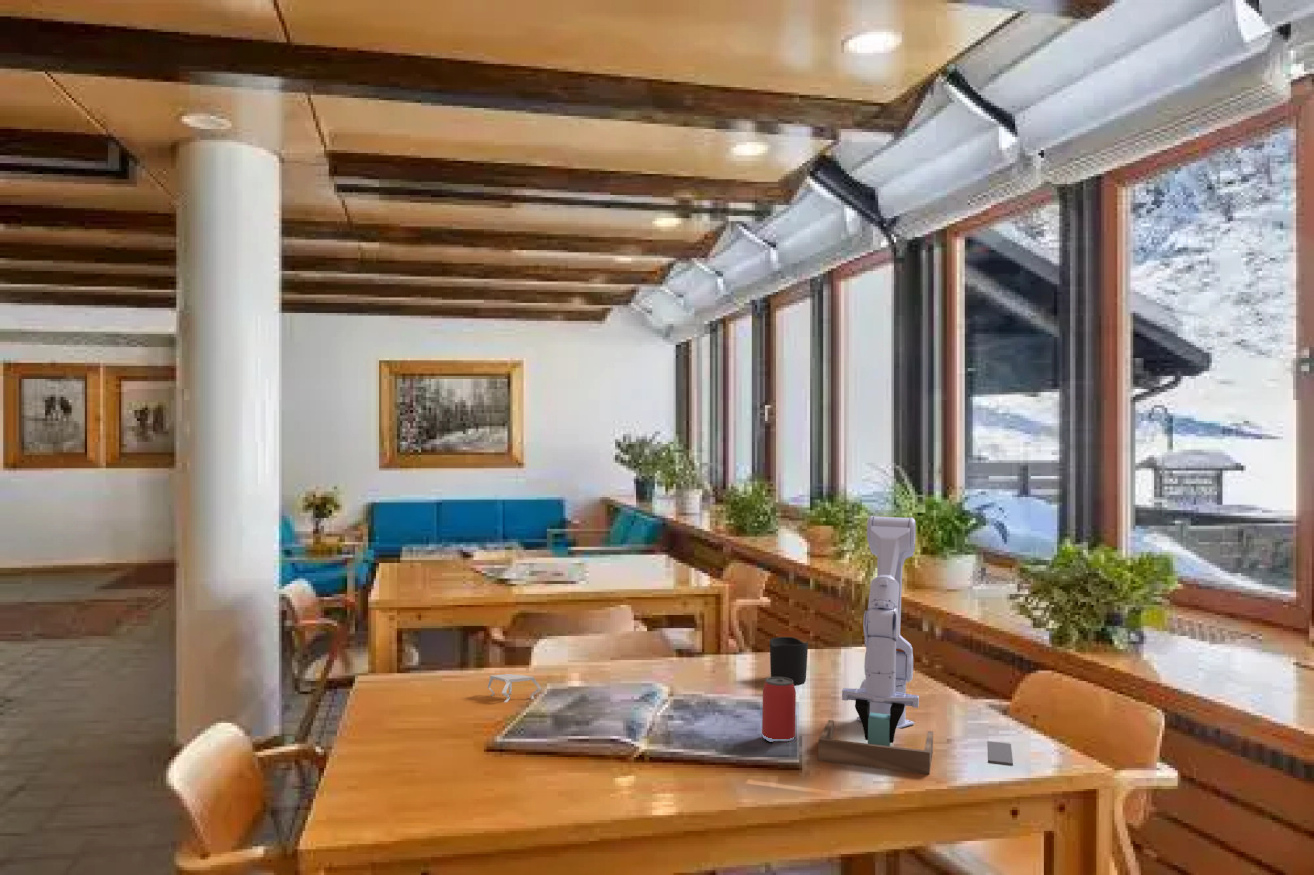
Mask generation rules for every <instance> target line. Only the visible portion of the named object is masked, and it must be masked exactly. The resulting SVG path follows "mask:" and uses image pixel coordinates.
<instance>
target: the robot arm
mask: <svg viewBox="0 0 1314 875" xmlns="http://www.w3.org/2000/svg"><path fill="white" fill-rule="evenodd" d="M916 524H917V523H916V520H915V519H914V517H897V516H895V517H893V516H874V515H870V516H869V517H868V519H867V526H866V539H867V543H868V548H869V550H870V553H871V554H872V555H873V556H876V557H877V564H876V567H877V571H876V572H877V575H876V577H875V578H873V579H872V580H871V582H870V587H869V589H870V590H869V594H868V595H869V596H868V605H867V610H864V614H863V623H862V624H863V625H862V627H863V630H862V631H863V636H864V647H865V653H864V654H865V655H864V665H863V666H864V667H863V668H864V675H865V679H863V681H861V684H860V687H859V688H851V687H850V688H847V687H846V688H845V687H844V688H842V690H841V700H842V701H855V702H854V703H855V704H854V707H855V710H856V713H857V714H858V716H857V717H856V720H857V721H859V722H861V725H862V729H863V733H864V740H865V741H868V717H869V715H870V712H871V713H880V714H890V743H891V744H893V743H894V741H895V734H896V730H897V729H902V728H906V727H909V726H913V725H915V721H912V720H910V719H906V718H907V716H906V715H907V714H906V708H907V707H912V708H916V709H919V707H920V706H919V705H920V696H919V694H918V695H917V694H911V693H907V683H910V682H911V681H913V676H914V654H913V653H914V650H913V649H914V648H913V647H912V644H911V643H910V642H909V641H908V640H907V639H906V638H904V637H903V636H902V635H901V620H902V618H901V616H902V614H901V613H902V591H903V590H902V588H903V587H902V586H903V583H902V582H903V568H904V564H905V561H906V560H907V559H908V558H912V557H913V556H914V553H915V550H916V549H915V548H916V536H917V535H916V532H917V530H916V529H917V528H916V527H917V526H916ZM897 650H902V651H897ZM906 706H907V707H906Z"/></svg>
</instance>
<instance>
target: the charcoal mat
mask: <svg viewBox="0 0 1314 875" xmlns="http://www.w3.org/2000/svg"><path fill="white" fill-rule="evenodd" d="M986 747H987V748H986V749H987V763H992V764H998V765H999V764H1000V765H1006V764H1007V765H1008V766H1014V761H1013V760H1014V759H1013V753H1012V752H1013V751H1012V743H1008V742H1007V743H1006V742H998V741H992V740H991V741H989V740H988V741H987V746H986Z"/></svg>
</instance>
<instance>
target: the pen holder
mask: <svg viewBox="0 0 1314 875" xmlns="http://www.w3.org/2000/svg"><path fill="white" fill-rule="evenodd" d="M808 648H809V642H807V641H806V642H803V641H802V640H800V639H798V638H796V637H790V636H780V637H779V636H777V637H772V638H771V639H770V640H769V659H770V660H769V662H770V666H769V667H770V677H785V678H790V679H792V680H793V684H794V686H798V685H803V684H805V682H806V680H807V669H808V668H807V667H808V652H809V650H808Z"/></svg>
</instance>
